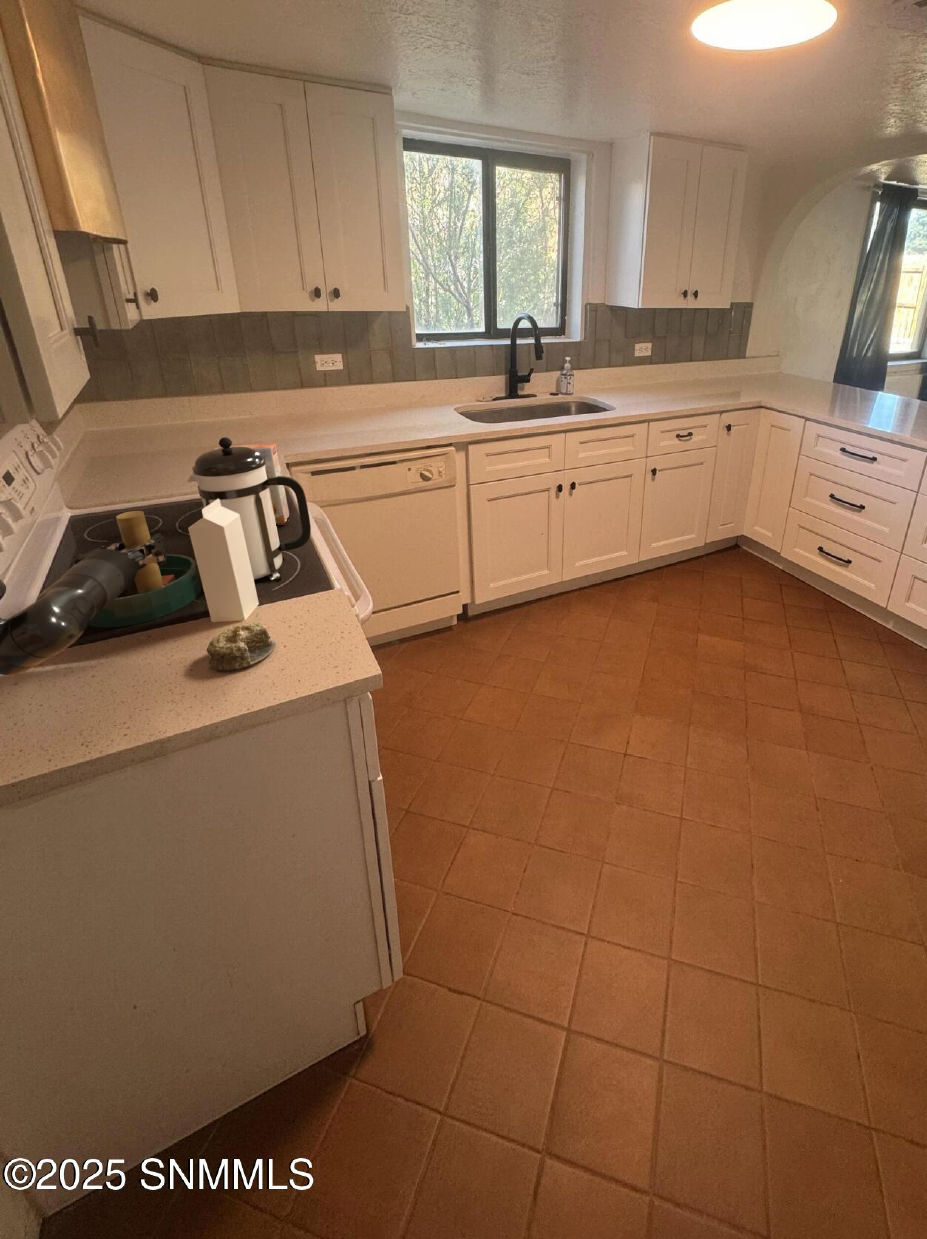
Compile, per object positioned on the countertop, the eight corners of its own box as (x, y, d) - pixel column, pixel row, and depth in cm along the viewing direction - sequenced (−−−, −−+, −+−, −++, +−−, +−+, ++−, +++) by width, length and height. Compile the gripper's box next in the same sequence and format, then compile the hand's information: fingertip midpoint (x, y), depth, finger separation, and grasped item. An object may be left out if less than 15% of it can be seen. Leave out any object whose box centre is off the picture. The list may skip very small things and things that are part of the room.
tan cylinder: (136, 601, 105) (111, 519, 99) (146, 591, 109) (122, 511, 103) (160, 599, 106) (137, 517, 100) (169, 588, 109) (147, 509, 104)
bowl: (59, 637, 101) (48, 606, 99) (114, 585, 119) (106, 559, 117) (179, 623, 105) (171, 594, 103) (215, 575, 123) (209, 550, 121)
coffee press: (246, 601, 112) (213, 451, 102) (198, 583, 119) (162, 441, 109) (320, 566, 126) (296, 431, 116) (272, 552, 134) (247, 424, 123)
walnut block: (106, 609, 109) (100, 590, 107) (117, 599, 112) (111, 580, 111) (130, 606, 110) (124, 588, 108) (140, 596, 113) (134, 578, 112)
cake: (197, 677, 90) (186, 648, 89) (228, 642, 100) (219, 615, 98) (260, 670, 90) (251, 640, 89) (285, 635, 100) (277, 608, 98)
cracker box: (290, 518, 154) (276, 441, 147) (285, 526, 148) (270, 447, 141) (234, 523, 151) (216, 445, 144) (226, 531, 146) (208, 451, 139)
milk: (259, 606, 110) (237, 497, 103) (245, 623, 104) (220, 509, 97) (227, 607, 110) (202, 498, 102) (210, 624, 104) (183, 510, 97)
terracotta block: (148, 604, 110) (142, 586, 109) (157, 594, 114) (151, 576, 112) (171, 602, 111) (165, 583, 109) (179, 592, 115) (174, 574, 113)
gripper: (140, 555, 91) (183, 517, 106) (36, 564, 88) (96, 524, 104) (152, 597, 93) (192, 554, 109) (52, 608, 90) (108, 562, 106)
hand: (145, 540), depth 106 cm, fingers closed on tan cylinder, 4 cm apart
